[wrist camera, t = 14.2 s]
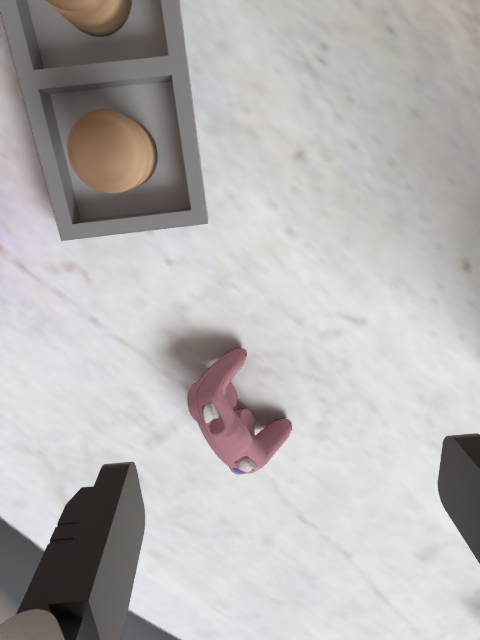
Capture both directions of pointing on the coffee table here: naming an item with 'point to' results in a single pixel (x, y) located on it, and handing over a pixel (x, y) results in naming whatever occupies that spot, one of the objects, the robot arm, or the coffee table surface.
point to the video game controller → (233, 418)
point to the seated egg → (111, 151)
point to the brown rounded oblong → (94, 14)
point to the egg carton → (117, 95)
